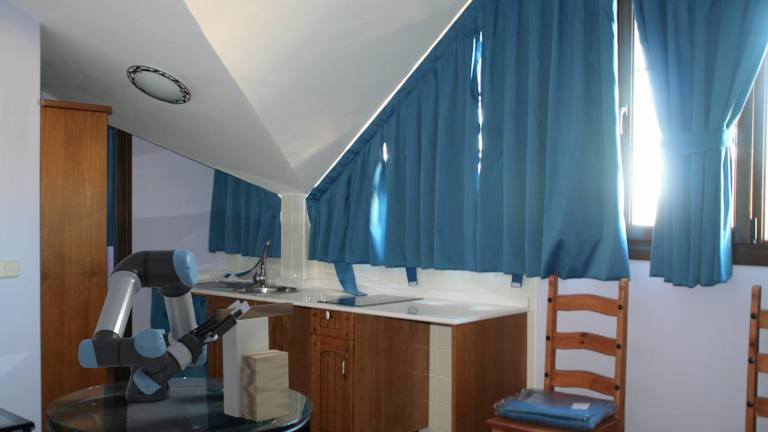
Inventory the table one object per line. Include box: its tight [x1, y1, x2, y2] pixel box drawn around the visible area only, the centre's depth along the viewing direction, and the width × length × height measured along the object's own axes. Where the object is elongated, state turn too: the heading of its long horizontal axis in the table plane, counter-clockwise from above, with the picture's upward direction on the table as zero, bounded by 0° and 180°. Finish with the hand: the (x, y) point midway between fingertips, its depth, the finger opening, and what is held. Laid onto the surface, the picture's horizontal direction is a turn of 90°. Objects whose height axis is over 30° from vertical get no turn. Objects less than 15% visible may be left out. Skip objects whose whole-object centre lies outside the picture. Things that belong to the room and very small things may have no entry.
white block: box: [222, 317, 270, 418], centre depth 234 cm, size 8×12×30 cm, turn 134°
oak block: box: [241, 349, 290, 423], centre depth 228 cm, size 8×12×20 cm, turn 134°
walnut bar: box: [215, 301, 294, 322], centre depth 226 cm, size 4×26×4 cm, turn 134°
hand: (243, 304), depth 223 cm, fingers closed on walnut bar, 3 cm apart
